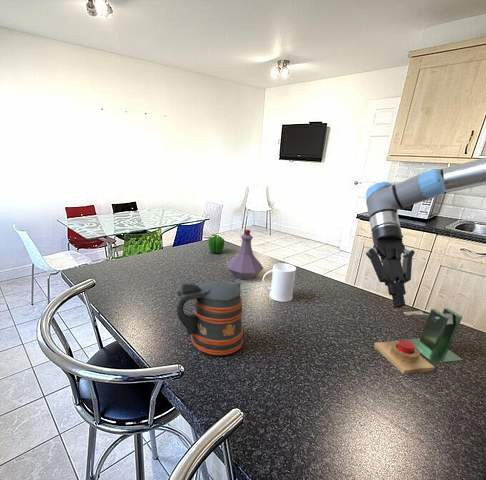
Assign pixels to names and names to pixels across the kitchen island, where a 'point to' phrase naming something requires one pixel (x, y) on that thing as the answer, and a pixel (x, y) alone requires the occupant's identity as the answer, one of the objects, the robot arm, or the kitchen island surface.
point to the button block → (404, 358)
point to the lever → (425, 315)
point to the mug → (281, 282)
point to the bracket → (438, 337)
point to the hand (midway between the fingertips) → (399, 306)
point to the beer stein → (213, 316)
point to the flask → (245, 260)
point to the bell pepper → (216, 244)
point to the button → (405, 346)
